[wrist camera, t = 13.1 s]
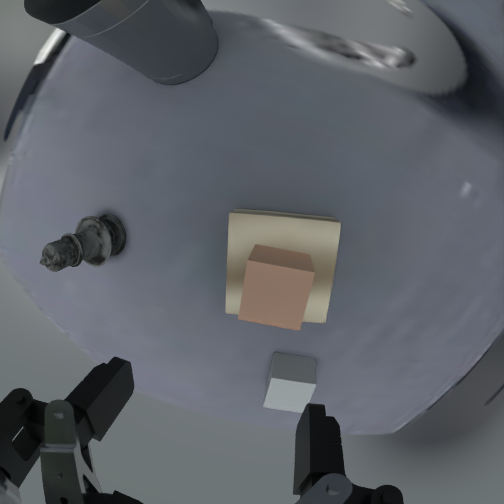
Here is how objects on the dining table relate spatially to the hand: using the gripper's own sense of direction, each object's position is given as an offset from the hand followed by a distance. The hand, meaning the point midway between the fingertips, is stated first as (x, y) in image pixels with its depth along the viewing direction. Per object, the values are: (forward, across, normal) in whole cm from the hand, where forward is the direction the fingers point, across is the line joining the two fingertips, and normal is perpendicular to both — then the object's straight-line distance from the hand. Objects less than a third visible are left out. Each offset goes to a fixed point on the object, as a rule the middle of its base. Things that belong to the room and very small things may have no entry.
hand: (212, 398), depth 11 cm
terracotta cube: (+16, -2, 0) cm, 16 cm away
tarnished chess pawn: (+20, +19, 0) cm, 27 cm away
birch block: (+20, -2, -1) cm, 20 cm away
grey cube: (+19, -6, +13) cm, 24 cm away
